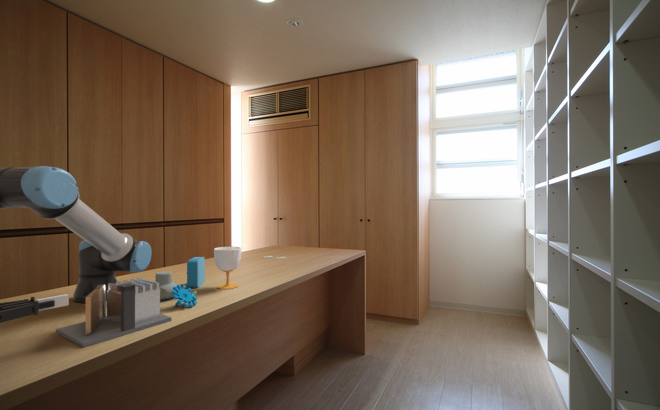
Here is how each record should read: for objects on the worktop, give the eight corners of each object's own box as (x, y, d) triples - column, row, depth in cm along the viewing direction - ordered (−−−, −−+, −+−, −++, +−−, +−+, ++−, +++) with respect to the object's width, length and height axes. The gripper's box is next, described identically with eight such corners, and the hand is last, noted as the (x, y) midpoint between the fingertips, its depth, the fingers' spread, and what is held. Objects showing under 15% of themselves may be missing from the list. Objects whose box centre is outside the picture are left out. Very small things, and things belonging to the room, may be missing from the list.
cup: (246, 285, 154) (246, 247, 154) (229, 291, 143) (229, 250, 143) (226, 282, 158) (226, 246, 158) (207, 288, 148) (207, 249, 148)
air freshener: (143, 301, 128) (144, 274, 128) (156, 295, 137) (156, 270, 137) (172, 301, 128) (172, 275, 128) (182, 295, 136) (182, 270, 136)
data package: (194, 282, 159) (194, 256, 159) (204, 282, 160) (204, 256, 159) (186, 288, 147) (186, 261, 147) (197, 288, 148) (197, 260, 148)
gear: (183, 307, 116) (169, 284, 119) (172, 318, 117) (158, 295, 120) (205, 302, 126) (191, 281, 129) (194, 313, 127) (181, 291, 130)
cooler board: (55, 332, 97) (55, 285, 97) (141, 310, 117) (141, 271, 117) (83, 347, 87) (83, 294, 87) (171, 320, 107) (171, 277, 107)
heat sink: (106, 319, 105) (107, 283, 105) (139, 310, 114) (139, 277, 114) (126, 326, 99) (126, 289, 99) (159, 317, 107) (160, 282, 107)
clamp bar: (98, 316, 106) (98, 284, 106) (106, 315, 107) (106, 284, 107) (83, 334, 92) (83, 297, 92) (93, 333, 92) (93, 296, 92)
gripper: (-74, 336, 74) (57, 309, 94) (-62, 350, 67) (77, 318, 87) (-73, 301, 74) (58, 282, 94) (-61, 312, 67) (78, 288, 87)
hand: (67, 299), depth 91 cm, fingers closed
